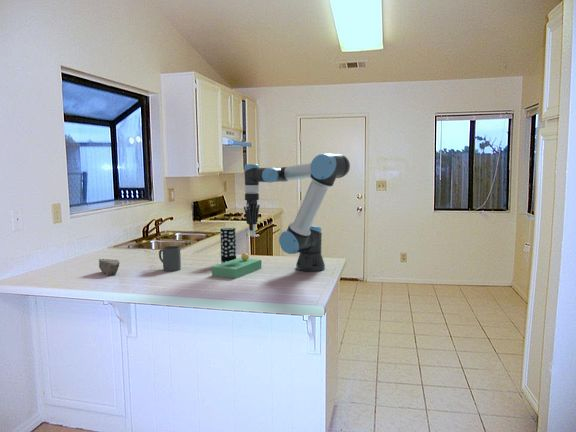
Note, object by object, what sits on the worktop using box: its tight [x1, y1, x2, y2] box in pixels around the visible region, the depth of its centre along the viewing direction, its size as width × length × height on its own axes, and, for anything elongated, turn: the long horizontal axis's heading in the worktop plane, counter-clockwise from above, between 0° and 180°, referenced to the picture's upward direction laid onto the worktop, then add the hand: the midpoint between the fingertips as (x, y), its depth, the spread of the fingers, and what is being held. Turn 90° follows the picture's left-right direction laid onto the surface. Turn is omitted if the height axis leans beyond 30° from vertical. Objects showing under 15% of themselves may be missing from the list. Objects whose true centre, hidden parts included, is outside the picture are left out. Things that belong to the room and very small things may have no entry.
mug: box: [158, 245, 182, 272], centre depth 244 cm, size 14×9×12 cm
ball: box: [240, 252, 250, 261], centre depth 243 cm, size 4×4×4 cm
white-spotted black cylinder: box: [219, 227, 237, 264], centre depth 255 cm, size 8×8×20 cm
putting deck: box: [211, 257, 262, 279], centre depth 237 cm, size 14×25×5 cm, turn 153°
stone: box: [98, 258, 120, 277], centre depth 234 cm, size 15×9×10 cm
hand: (252, 236), depth 249 cm, fingers closed
